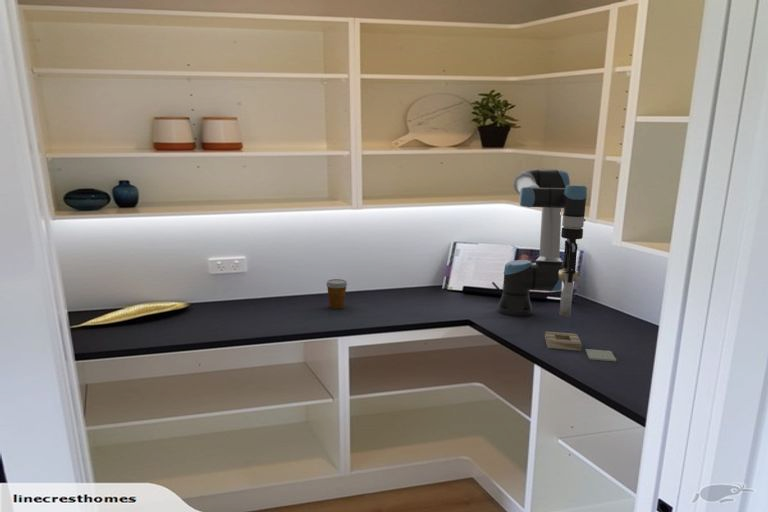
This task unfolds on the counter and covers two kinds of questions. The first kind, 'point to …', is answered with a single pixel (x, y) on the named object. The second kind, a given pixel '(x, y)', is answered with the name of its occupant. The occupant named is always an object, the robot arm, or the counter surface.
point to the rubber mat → (600, 355)
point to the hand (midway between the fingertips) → (567, 288)
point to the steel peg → (565, 294)
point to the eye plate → (563, 341)
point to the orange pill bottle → (336, 292)
